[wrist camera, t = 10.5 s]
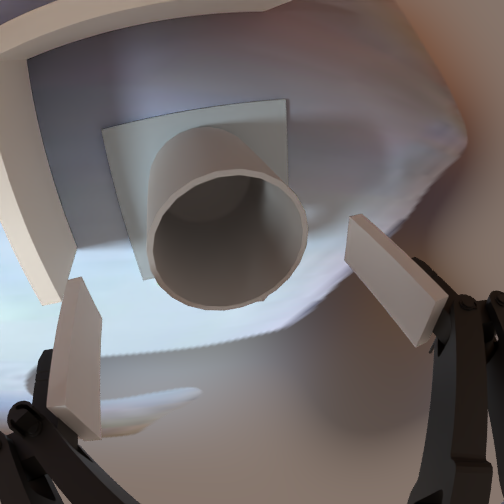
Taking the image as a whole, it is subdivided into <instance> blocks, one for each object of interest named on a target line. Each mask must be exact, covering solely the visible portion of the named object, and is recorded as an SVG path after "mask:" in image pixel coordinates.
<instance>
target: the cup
mask: <svg viewBox="0 0 504 504" xmlns="http://www.w3.org/2000/svg"><path fill="white" fill-rule="evenodd" d="M307 236H308V224H307V218H306V213H305V210H304V208H303V206H302V204H301V203H300V201H299V199H298V197H297V195H296V194H295V193H294V192H293V191H292V190H291V189H290V188H289V187H288V186H287V185H286V184H285V183H284V182H283V181H282V180H281V179H280V178H279V177H278V176H277V175H276V174H275V173H274V172H273V171H272V170H271V168H270V167H269V166H268V165H267V164H266V163H265V162H264V161H263V160H262V159H261V158H260V157H259V156H257V155H256V154H255V153H254V152H253V151H252V150H251V149H250V148H249V147H248V146H247V145H246V144H245V143H244V142H243V141H242V140H241V139H239V138H238V137H237V136H235V135H234V134H231V133H229V132H227V131H225V130H223V129H219V128H213V127H198V128H192V129H189V130H186V131H183V132H181V133H178V134H177V135H176V136H174V137H173V138H171V139H170V140H169V141H167V142H166V143H165V144H164V145H163V147H162V148H161V149H160V150H159V151H158V153H157V154H156V157H155V159H154V161H153V163H152V165H151V169H150V175H149V182H148V199H147V238H146V252H147V257H148V262H149V266H150V270H151V272H152V274H153V276H154V277H155V279H156V281H157V283H158V284H159V286H160V287H161V288H162V289H163V290H165V291H166V292H167V293H168V294H169V295H170V296H171V297H172V298H174V299H176V300H178V301H180V302H182V303H184V304H186V305H188V306H191V307H195V308H199V309H204V310H229V309H235V308H240V307H244V306H247V305H249V304H252V303H254V302H258V301H264V300H265V299H266V298H267V296H268V295H269V294H271V293H273V292H274V291H276V290H277V289H278V288H279V287H280V286H281V285H282V284H283V283H284V282H285V281H286V280H288V279H289V278H290V276H291V275H292V273H293V272H294V270H295V269H296V268H297V266H298V265H299V263H300V261H301V259H302V256H303V254H304V251H305V248H306V245H307Z"/></svg>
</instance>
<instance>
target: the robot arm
mask: <svg viewBox="0 0 504 504" xmlns="http://www.w3.org/2000/svg"><path fill="white" fill-rule="evenodd" d="M344 260H345V262H346V263H347V264H348V265H349V266H350V267H351V269H352V270H353V271H354V272H355V273H356V274H357V276H358V277H359V278H360V279H361V280H362V281H363V283H364V284H365V285H366V286H367V288H368V289H369V290H370V291H371V292H372V294H373V295H374V296H375V297H376V298H377V300H378V301H379V302H380V303H381V305H382V306H383V307H384V308H385V309H386V311H387V312H388V313H389V314H390V316H391V317H392V318H393V319H394V321H395V322H396V323H397V324H398V326H399V327H400V328H401V329H402V331H403V332H404V333H405V335H406V336H407V337H408V338H409V340H410V341H411V342H412V344H413V345H414V346H415V347H417V346H420V345H421V344H423V343H425V342H427V341H428V340H429V338H430V336H431V334H432V332H433V333H434V334H435V335H436V339H435V341H434V343H433V345H432V346H431V348H430V351H429V353H432V351H433V349H434V365H433V381H432V392H431V402H430V403H431V404H430V411H429V419H428V427H427V433H426V440H425V446H424V452H423V457H422V463H421V468H420V472H419V477H418V480H417V482H416V484H415V486H414V487H413V489H412V491H411V493H410V496H409V500H408V503H407V504H488V503H489V498H490V491H491V483H492V475H493V467H492V465H491V463H489V462H488V461H486V442H487V417H488V412H489V417H490V422H491V427H492V433H493V439H494V445H495V451H496V459H497V465H498V466H497V467H498V475H499V481H500V486H501V490H502V494H503V497H504V293H503V292H501V291H493V292H491V293H490V295H489V297H488V299H487V300H482V301H476V300H475V299H474V298H472V297H471V296H468V295H463V294H461V295H458V294H457V293H456V292H455V291H454V290H453V289H452V288H451V287H450V286H449V285H448V284H447V283H445V281H443V279H442V278H440V277H439V276H437V274H436V273H435V272H434V271H432V269H431V268H430V267H429V266H428V265H427V264H426V263H425V262H423V261H421V260H419V259H418V258H416V257H414V258H410V257H409V256H408V255H407V254H406V253H405V252H404V251H403V250H402V249H401V248H399V247H398V246H397V245H396V244H395V243H394V242H393V241H392V240H391V239H390V238H389V237H387V236H386V235H385V234H384V233H383V232H382V231H381V230H380V229H379V228H377V227H376V226H375V225H374V224H373V223H372V222H371V221H369V220H368V219H367V218H366V217H365V216H364V215H363V214H358V215H354V216H349V225H348V234H347V242H346V251H345V259H344ZM101 331H102V317H101V315H100V313H99V312H98V310H97V308H96V306H95V304H94V302H93V300H92V298H91V295H90V293H89V291H88V289H87V287H86V285H85V283H84V281H83V279H82V277H78V278H74V279H70V280H67V284H66V288H65V292H64V296H63V301H62V305H61V310H60V315H59V320H58V325H57V330H56V336H55V342H54V348H53V349H49V350H44V351H43V353H42V355H41V357H40V359H39V361H38V366H37V374H36V379H35V380H36V382H35V386H34V393H33V402H32V404H31V403H30V402H28V401H20V402H17V403H16V404H14V405H13V406H12V408H11V409H10V411H9V413H8V417H7V423H8V426H9V428H10V429H11V430H12V431H14V432H13V433H11V434H9V435H5V434H3V433H2V432H1V431H0V501H1V504H64V503H63V501H62V499H61V497H60V495H59V493H58V491H57V489H56V487H55V485H54V483H55V484H56V485H57V486H58V488H59V489H60V490H61V491H62V492H63V494H64V495H65V496H66V497H67V498H68V500H69V501H70V502H71V503H72V504H140V503H139V502H138V501H136V500H135V499H134V498H133V497H132V496H131V495H129V494H128V493H127V492H126V491H125V490H124V489H123V488H122V487H120V485H118V484H117V483H116V482H115V481H114V480H113V479H112V478H111V477H110V476H109V475H108V474H107V473H106V472H105V471H104V470H103V469H102V468H101V467H100V466H99V465H98V464H97V463H96V462H95V461H94V460H93V459H92V458H91V457H90V456H89V455H88V454H87V453H86V452H85V451H84V450H83V448H82V447H81V446H80V445H78V436H79V437H80V438H81V439H83V440H84V441H93V440H102V436H101V415H100V353H101ZM496 334H497V336H498V341H497V340H496V338H495V336H496ZM487 410H488V411H487ZM52 480H53V481H54V483H53V482H52ZM501 504H504V502H502V503H501Z"/></svg>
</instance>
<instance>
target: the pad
mask: <svg viewBox="0 0 504 504" xmlns="http://www.w3.org/2000/svg"><path fill="white" fill-rule="evenodd" d="M198 127H213V128H219V129H223V130H225V131H227V132H229V133H231V134H234V135H235V136H237V137H238V138H239V139H241V140H242V141H243V142H244V143H245V144H246V145H247V146H248V147H249V148H250V149H251V150H252V151H253V152H254V153H255V154H256V155H257V156H259V157H260V158H261V159H262V160H263V161H264V162H265V163H266V164H267V165H268V166H269V167H270V168H271V170H272V171H273V172H274V173H275V174H276V175H277V176H278V177H279V178H280V179H281V180H282V181H283V182H284V183H285V184H286V185H287V186H288V148H287V118H286V99H276V100H264V101H254V102H244V103H236V104H228V105H220V106H213V107H206V108H200V109H194V110H188V111H182V112H176V113H171V114H166V115H161V116H156V117H151V118H146V119H142V120H137V121H133V122H129V123H125V124H120V125H116V126H113V127H109V128H105V129H102V130H101V132H102V136H103V141H104V145H105V150H106V154H107V158H108V163H109V167H110V171H111V175H112V179H113V183H114V186H115V190H116V194H117V198H118V201H119V205H120V209H121V212H122V216H123V219H124V222H125V226H126V229H127V232H128V236H129V239H130V242H131V245H132V248H133V252H134V255H135V258H136V261H137V264H138V267H139V270H140V273H141V276H142V278H143V280H148V279H152V278H155V277H154V276H153V274H152V272H151V270H150V266H149V262H148V257H147V252H146V238H147V199H148V182H149V175H150V169H151V165H152V163H153V161H154V159H155V157H156V154H157V153H158V151H159V150H160V149H161V148H162V147H163V145H164V144H165V143H166V142H167V141H169V140H170V139H171V138H173V137H174V136H176V135H177V134H178V133H181V132H183V131H186V130H189V129H192V128H198Z"/></svg>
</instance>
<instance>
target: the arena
mask: <svg viewBox="0 0 504 504" xmlns="http://www.w3.org/2000/svg"><path fill="white" fill-rule="evenodd" d="M290 1H292V0H57V1H54V2H52V3H49V4H46V5H44V6H41V7H39V8H37V9H34V10H32V11H29V12H27V13H25V14H23V15H20V16H18V17H16V18H14V19H12V20H10V21H8V22H6V23H4V24H2V25H0V221H1V224H2V226H3V229H4V231H5V233H6V236H7V238H8V240H9V242H10V244H11V247H12V249H13V251H14V253H15V255H16V257H17V259H18V261H19V263H20V265H21V267H22V269H23V271H24V273H25V275H26V277H27V279H28V281H29V283H30V285H31V286H32V288H33V290H34V292H35V294H36V295H37V297H38V299H39V301H40V302H41V304H42V306H44V305H48V304H53V303H58V302H62V300H63V296H64V292H65V288H66V284H67V280H68V277H69V274H70V271H71V267H72V264H73V261H74V257H75V254H76V251H77V246H76V243H75V240H74V238H73V235H72V233H71V230H70V227H69V225H68V222H67V219H66V216H65V214H64V211H63V208H62V205H61V202H60V199H59V196H58V193H57V190H56V187H55V183H54V180H53V177H52V174H51V170H50V167H49V163H48V160H47V156H46V152H45V149H44V145H43V141H42V137H41V133H40V129H39V124H38V120H37V115H36V111H35V106H34V101H33V96H32V90H31V85H30V79H29V72H28V65H27V59H29V58H31V57H34V56H36V55H39V54H41V53H44V52H47V51H49V50H52V49H55V48H57V47H60V46H63V45H66V44H69V43H72V42H75V41H78V40H81V39H85V38H88V37H91V36H95V35H98V34H102V33H106V32H110V31H113V30H118V29H122V28H126V27H130V26H135V25H140V24H145V23H150V22H156V21H161V20H167V19H174V18H181V17H189V16H197V15H207V14H219V13H234V12H264V11H267V10H269V9H272V8H274V7H277V6H279V5H282V4H284V3H287V2H290Z"/></svg>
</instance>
